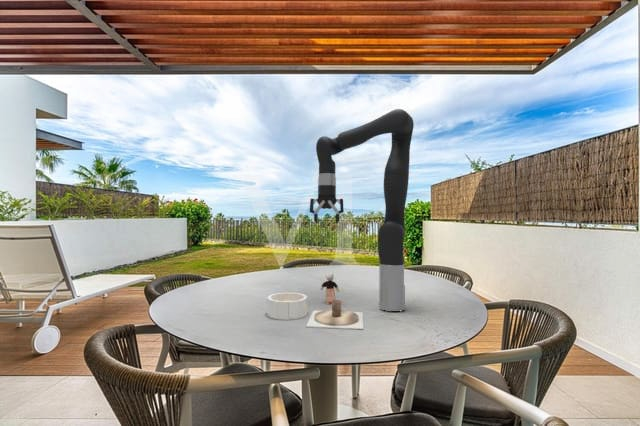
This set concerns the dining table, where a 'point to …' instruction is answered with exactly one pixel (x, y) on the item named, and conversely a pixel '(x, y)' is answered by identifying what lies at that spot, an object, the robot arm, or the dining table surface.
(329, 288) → the grandmother figurine
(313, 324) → the mat
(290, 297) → the bowl
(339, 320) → the lid
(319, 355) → the dining table surface
